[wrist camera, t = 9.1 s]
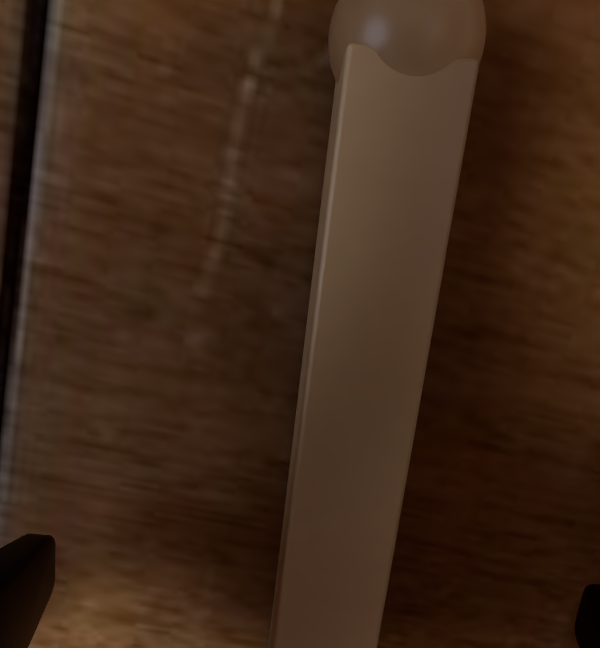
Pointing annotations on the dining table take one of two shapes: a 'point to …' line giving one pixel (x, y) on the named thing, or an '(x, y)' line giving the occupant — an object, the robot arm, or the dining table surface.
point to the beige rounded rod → (372, 306)
